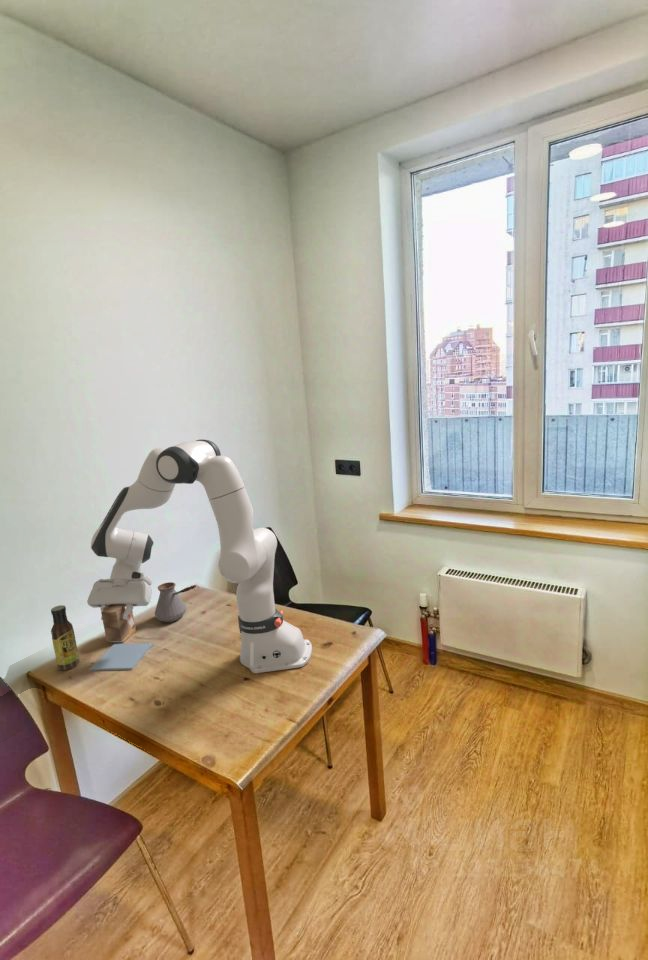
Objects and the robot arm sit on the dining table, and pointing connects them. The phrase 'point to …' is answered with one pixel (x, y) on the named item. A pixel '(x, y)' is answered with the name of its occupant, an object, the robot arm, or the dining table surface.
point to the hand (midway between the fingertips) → (113, 619)
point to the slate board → (122, 657)
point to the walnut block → (114, 623)
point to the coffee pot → (170, 603)
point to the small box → (131, 626)
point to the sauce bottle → (63, 639)
